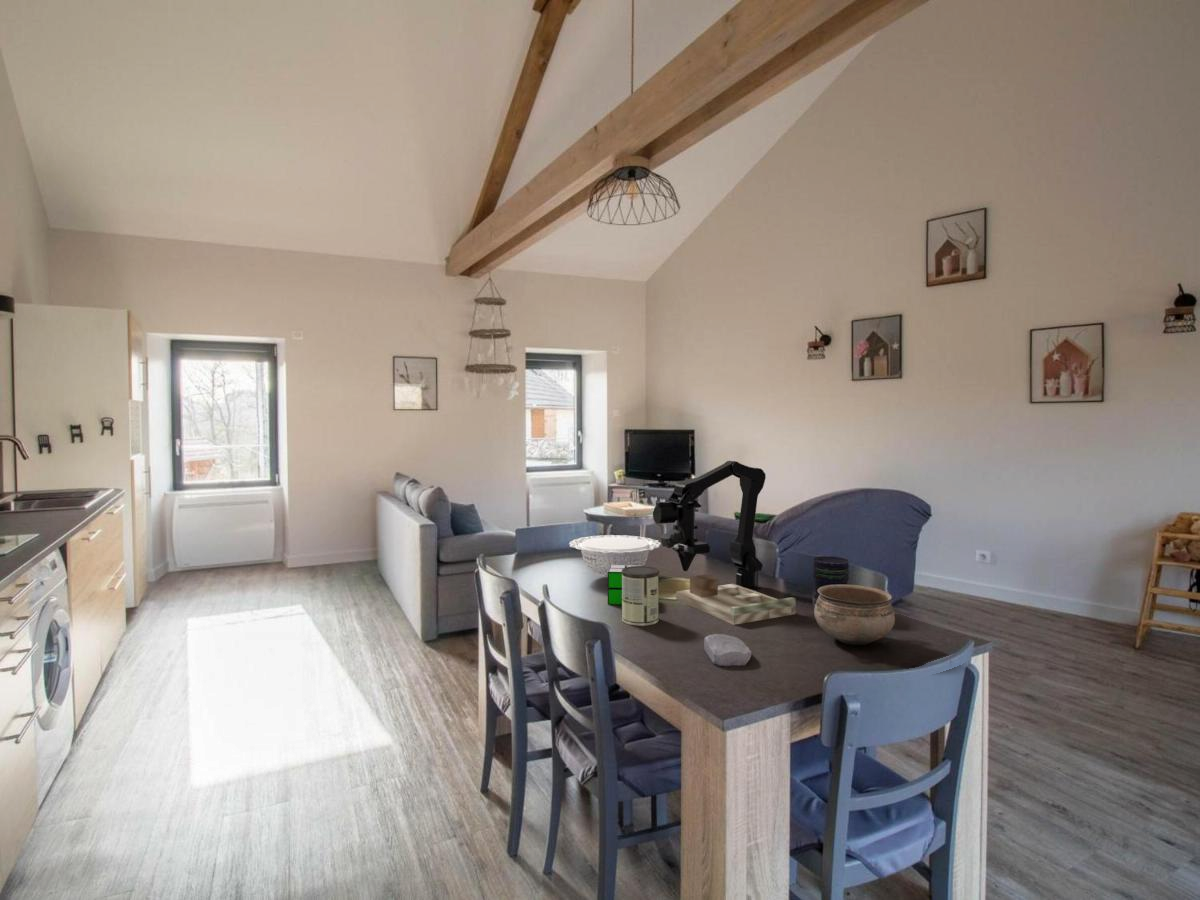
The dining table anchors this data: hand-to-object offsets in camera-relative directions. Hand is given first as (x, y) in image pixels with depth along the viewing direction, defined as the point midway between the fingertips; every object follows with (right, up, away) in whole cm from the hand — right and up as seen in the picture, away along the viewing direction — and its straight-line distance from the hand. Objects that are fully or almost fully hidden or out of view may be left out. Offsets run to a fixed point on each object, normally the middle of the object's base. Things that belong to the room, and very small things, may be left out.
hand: (685, 570), depth 212 cm
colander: (-22, -7, +19) cm, 30 cm away
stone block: (+3, -11, -55) cm, 56 cm away
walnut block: (+4, -5, -9) cm, 11 cm away
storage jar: (+40, -9, -17) cm, 44 cm away
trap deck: (+12, -8, -13) cm, 20 cm away
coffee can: (-16, -9, -27) cm, 32 cm away
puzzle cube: (-19, -8, -7) cm, 22 cm away
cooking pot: (+37, -10, -44) cm, 58 cm away
